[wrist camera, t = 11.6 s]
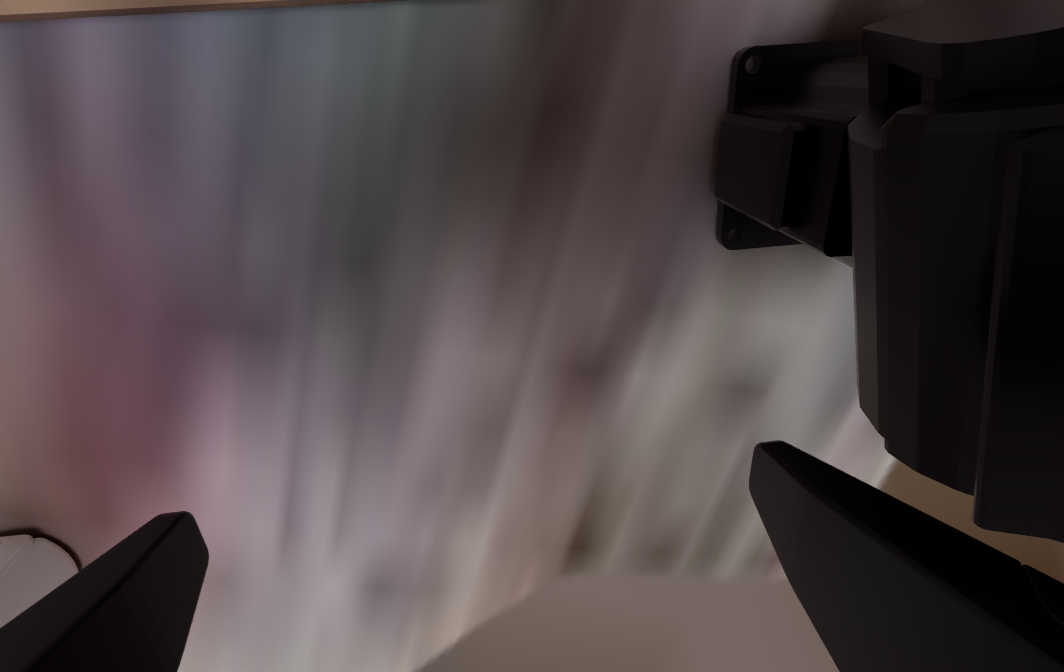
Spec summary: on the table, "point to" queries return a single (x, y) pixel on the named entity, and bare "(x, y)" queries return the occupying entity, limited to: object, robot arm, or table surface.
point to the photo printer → (29, 572)
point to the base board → (136, 7)
